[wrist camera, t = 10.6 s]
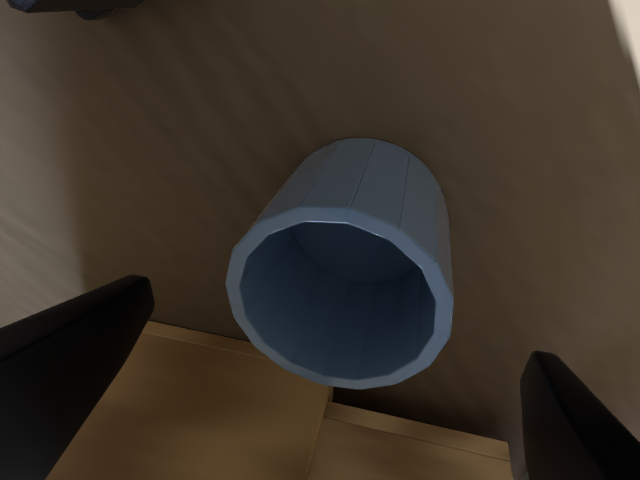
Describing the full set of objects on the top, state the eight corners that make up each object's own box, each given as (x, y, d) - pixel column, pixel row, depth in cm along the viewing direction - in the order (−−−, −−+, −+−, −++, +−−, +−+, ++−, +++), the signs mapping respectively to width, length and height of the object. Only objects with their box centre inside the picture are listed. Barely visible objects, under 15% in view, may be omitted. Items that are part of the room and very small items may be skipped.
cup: (256, 175, 14) (184, 250, 10) (409, 107, 12) (397, 168, 8) (327, 297, 16) (291, 401, 12) (469, 259, 14) (485, 371, 10)
